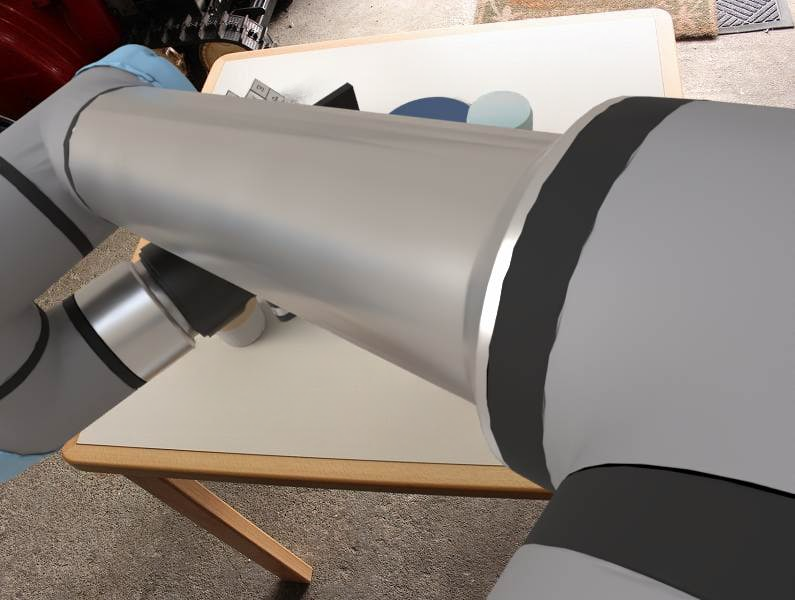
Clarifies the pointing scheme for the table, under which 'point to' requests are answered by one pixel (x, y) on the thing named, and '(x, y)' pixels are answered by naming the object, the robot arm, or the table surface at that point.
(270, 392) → the table surface
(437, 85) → the table surface
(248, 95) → the building blocks
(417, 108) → the slate-blue mat
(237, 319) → the coffee cup
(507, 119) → the pale blue cylinder
